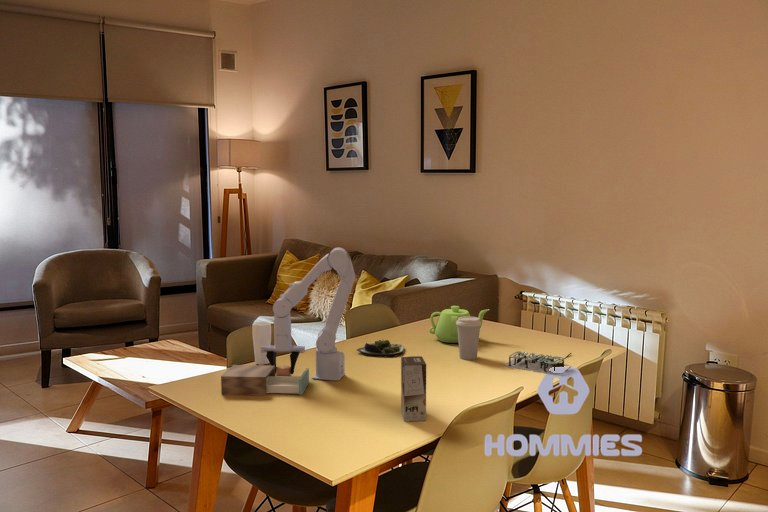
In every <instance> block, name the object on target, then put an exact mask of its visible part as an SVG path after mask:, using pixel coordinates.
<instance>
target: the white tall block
mask: <svg viewBox="0 0 768 512" xmlns="http://www.w3.org/2000/svg"><path fill="white" fill-rule="evenodd" d="M251 325H252V328H251V330H252V331H251V332H252V335H251V336H252V343H253V353H254V365H257V364H259V365H264V364H267V365H269V364H270V362H269V360H268V358H267V357H266V354H267V352H264V353H261V347H262V346H269V345H272V344H271V343H272V322H270V321H255V322H253V323H252V324H251Z"/></svg>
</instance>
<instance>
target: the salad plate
mask: <svg viewBox="0 0 768 512" xmlns="http://www.w3.org/2000/svg"><path fill="white" fill-rule="evenodd" d="M404 349H405V346H404V345H403V344H401V343H391V342H390V340H388V339H386V340H385V339H382V340H381V339H379V340H376V341H374V342H373V343H372V342H371V343H367V342H366V343H365V344H364V345H363V347H359V348H357V349H356V352H359V353H361V354H362V355H364V356H366V357H378V358H393V357H398V356H401V354H403V352H404Z"/></svg>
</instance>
